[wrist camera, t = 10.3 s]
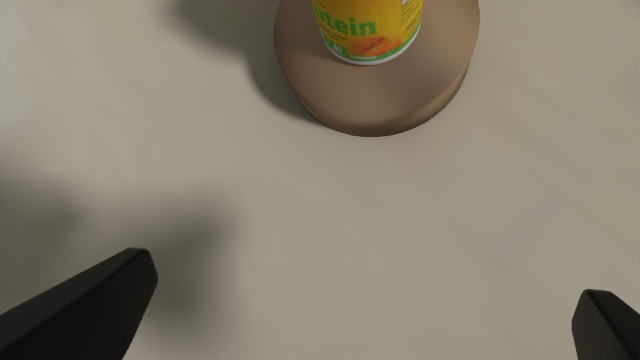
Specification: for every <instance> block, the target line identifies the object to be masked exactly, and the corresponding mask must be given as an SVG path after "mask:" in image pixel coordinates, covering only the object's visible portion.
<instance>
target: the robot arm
mask: <svg viewBox="0 0 640 360" xmlns="http://www.w3.org/2000/svg"><path fill="white" fill-rule="evenodd" d="M157 282H158V275H157V271H156V268H155V266H154V263H153V260H152V257H151V254H150V252H149V251H148V250H147V249H144V248H134V247H132V248H127V249H125V250H123V251H121V252H120V253H118V254H116V255H114V256H112V257H110V258H108V259H106V260H104V261H102V262H100V263H98V264H97V265H95V266H93V267H91V268H89V269H87V270H85V271H83V272H81V273H79V274H77V275H75V276H74V277H72V278H70V279H68V280H66V281H64V282H62V283H60V284H58V285H56V286H54V287H52V288H51V289H49V290H47V291H45V292H43V293H41V294H39V295H37V296H35V297H33V298H31V299H29V300H28V301H26V302H24V303H22V304H20V305H18V306H16V307H14V308H12V309H10V310H8V311H6V312H5V313H3V314H1V315H0V360H122V359H123V357H124V355H125V354H126V352H127V350H128V348H129V346H130V344H131V342H132V340H133V338H134V336H135V333H136V331H137V329H138V327H139V324H140V322H141V320H142V318H143V315H144V313H145V311H146V309H147V306H148V304H149V302H150V300H151V297H152V295H153V293H154V291H155V288H156V286H157ZM572 334H573V338H574V343H575V347H576V352H577V356H578V360H640V314H639V313H637V312H636V311H635V310H634V309H632V308H631V307H630V306H629V305H627V304H626V303H625V302H624V301H622V300H621V299H620V298H619V297H617V296H616V295H615V294H613V293H612V292H610V291H605V290H594V289H586V290H584V291H583V292H582V294H581V296H580V299H579V302H578V304H577V307H576V310H575V313H574V315H573V318H572Z"/></svg>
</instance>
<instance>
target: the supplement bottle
mask: <svg viewBox="0 0 640 360" xmlns="http://www.w3.org/2000/svg"><path fill="white" fill-rule="evenodd" d="M311 2H312V5H313V9H314V12H315V16H316V19H317V23H318V26H319V29H320V32H321V35H322V38H323V40H324V42H325V44H326V46H327V47H328V48H329V50H330V51H331V52H332V53H333V54H334V55H336V56H337V57H338V58H340V59H342V60H344V61H346V62H349V63H352V64H357V65H376V64H380V63H384V62H387V61H389V60H391V59H393V58H395V57H397V56H398V55H400V54H401V53H402V52H404V51H405V50H406V49H407V48H408V47H409V45H410V44H411V43H412V42H413V40H414V39H415V37H416V35H417V33H418V31H419V28H420V24H421V18H422V10H423V0H311Z"/></svg>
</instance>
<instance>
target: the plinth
mask: <svg viewBox="0 0 640 360" xmlns="http://www.w3.org/2000/svg"><path fill="white" fill-rule="evenodd" d="M479 25H480V11H479V5H478V0H423V10H422V18H421V24H420V28H419V31H418V33H417V35H416V37H415V39H414V40H413V42H412V43H411V44H410V45H409V47H408V48H407V49H406V50H405V51H404V52H402V53H401V54H400V55H398V56H397V57H395V58H393V59H391V60H389V61H387V62H384V63H380V64H376V65H357V64H352V63H349V62H346V61H344V60H342V59H340V58H338V57H337V56H336V55H334V54H333V53H332V52H331V51H330V50H329V48H328V47H327V46H326V44H325V42H324V40H323V38H322V35H321V32H320V29H319V26H318V23H317V19H316V16H315V12H314V9H313V5H312V2H311V0H282V1H281V4H280V6H279V8H278V12H277V16H276V19H275V27H274V44H275V50H276V55H277V58H278V61H279V64H280V66H281V68H282V70H283V72H284V74H285V76H286V78H287V80H288V81H289V83H290V85H291V87H292V89H293V91H294V93H295V95H296V96H297V98H298V100H299V101H300V103H301V104H302V105H303V107H304V108H305V109H306V110H307V111H308V112H309V113H310V114H311V115H312V116H313V117H314V118H316V119H317V120H318V121H319V122H321V123H323V124H324V125H326V126H328V127H330V128H332V129H334V130H337V131H339V132H342V133H346V134H350V135H355V136H362V137H381V136H390V135H394V134H398V133H402V132H405V131H408V130H410V129H413V128H415V127H417V126H419V125H421V124H423V123H425V122H427V121H428V120H430V119H431V118H433V117H434V116H435V115H437V114H438V113H439V112H440V111H441V110H442V109H443V108H445V107H446V105H447V104H448V103H449V102H450V101H451V100H452V99H453V97H454V96H455V94H456V93H457V91H458V90H459V88H460V86H461V84H462V82H463V80H464V78H465V75H466V72H467V69H468V66H469V62H470V59H471V56H472V53H473V50H474V47H475V43H476V40H477V37H478V31H479Z"/></svg>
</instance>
